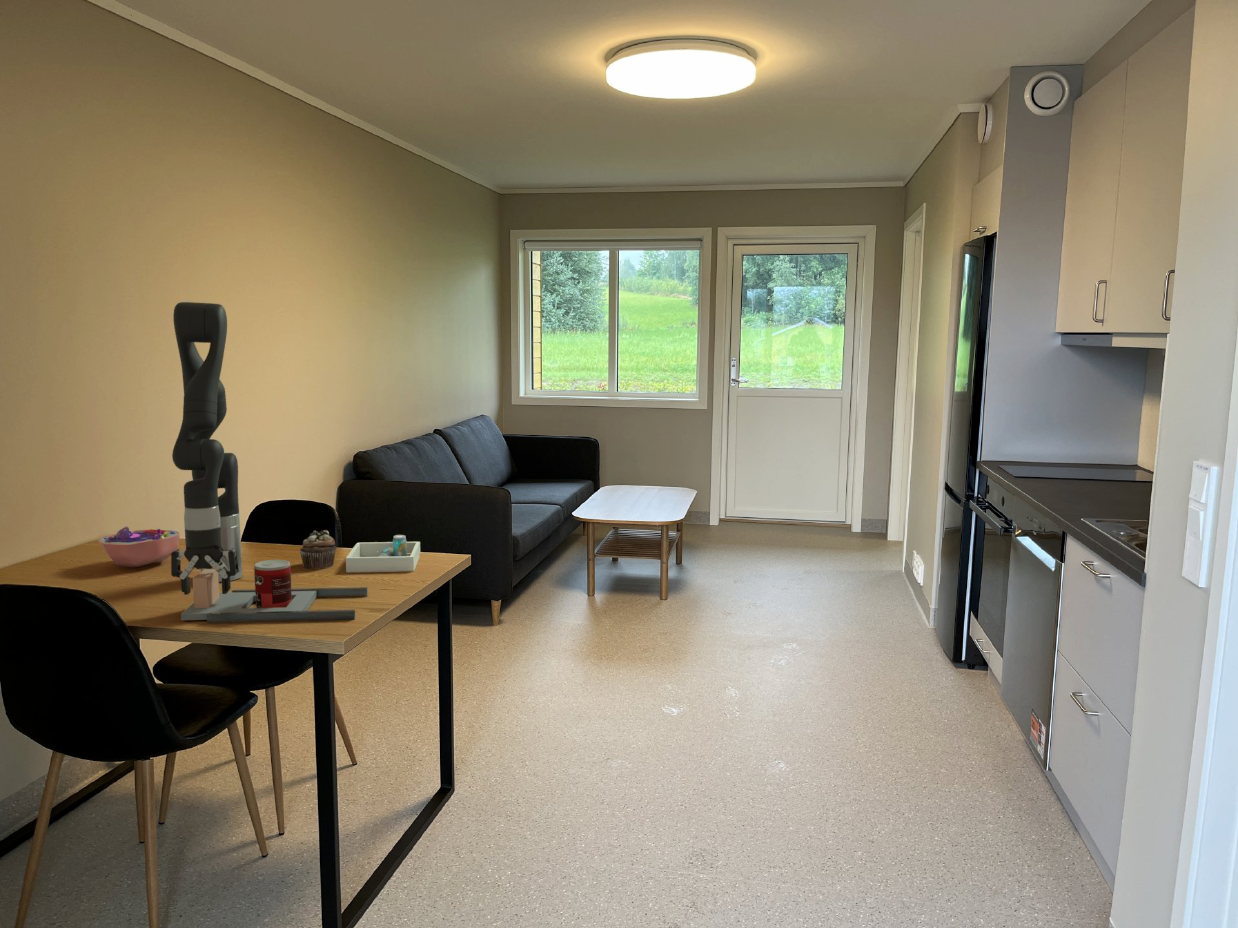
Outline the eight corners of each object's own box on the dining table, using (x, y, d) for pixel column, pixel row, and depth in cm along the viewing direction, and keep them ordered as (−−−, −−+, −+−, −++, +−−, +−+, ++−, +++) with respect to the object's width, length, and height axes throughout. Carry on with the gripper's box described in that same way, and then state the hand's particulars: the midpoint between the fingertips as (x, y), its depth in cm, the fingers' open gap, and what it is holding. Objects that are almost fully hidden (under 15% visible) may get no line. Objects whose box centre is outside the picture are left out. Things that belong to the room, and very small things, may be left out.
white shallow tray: (346, 572, 238) (345, 558, 238) (357, 555, 256) (357, 542, 256) (413, 571, 241) (413, 557, 240) (420, 554, 258) (420, 541, 258)
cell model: (188, 566, 242) (186, 526, 241) (105, 577, 231) (102, 535, 229) (176, 553, 256) (173, 515, 254) (97, 563, 244) (94, 524, 242)
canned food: (261, 604, 210) (259, 559, 208) (296, 603, 211) (294, 559, 209) (251, 614, 202) (249, 567, 201) (287, 613, 203) (285, 567, 202)
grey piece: (181, 620, 197) (179, 583, 195) (205, 599, 212) (203, 564, 211) (301, 617, 200) (300, 581, 199) (316, 596, 215) (315, 563, 214)
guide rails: (207, 623, 196) (206, 614, 196) (233, 597, 214) (233, 589, 214) (354, 619, 200) (354, 610, 200) (367, 594, 218) (367, 587, 218)
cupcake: (331, 559, 252) (330, 525, 250) (340, 567, 244) (339, 532, 242) (296, 563, 247) (295, 529, 245) (304, 571, 239) (303, 535, 237)
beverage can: (409, 569, 243) (408, 541, 242) (365, 569, 243) (365, 541, 242) (417, 558, 255) (416, 531, 254) (375, 558, 255) (375, 531, 254)
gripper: (163, 529, 197) (168, 598, 200) (229, 528, 199) (233, 597, 201) (176, 522, 205) (180, 589, 207) (239, 521, 206) (243, 588, 209)
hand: (206, 593), depth 204 cm, fingers open, 8 cm apart
